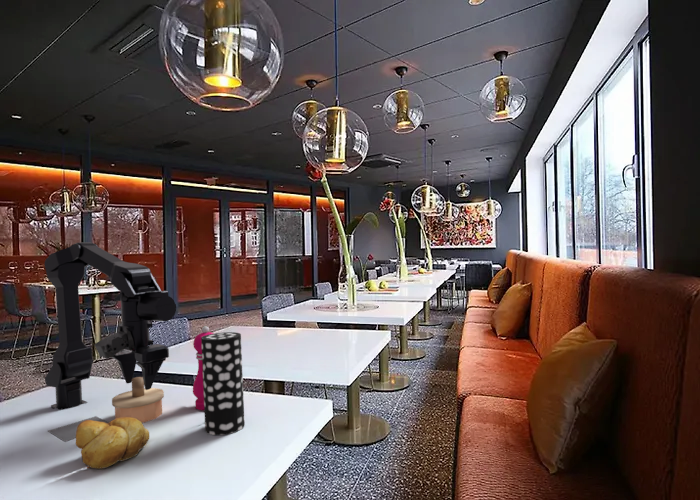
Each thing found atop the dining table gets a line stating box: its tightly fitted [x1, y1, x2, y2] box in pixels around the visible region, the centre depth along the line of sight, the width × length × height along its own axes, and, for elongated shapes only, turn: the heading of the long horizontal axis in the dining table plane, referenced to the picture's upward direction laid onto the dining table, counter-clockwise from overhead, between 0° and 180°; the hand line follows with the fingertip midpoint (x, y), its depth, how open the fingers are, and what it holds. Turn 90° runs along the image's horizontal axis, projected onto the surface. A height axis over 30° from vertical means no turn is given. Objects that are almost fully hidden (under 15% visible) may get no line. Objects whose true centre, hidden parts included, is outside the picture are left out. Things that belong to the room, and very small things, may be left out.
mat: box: [47, 415, 110, 443], centre depth 99 cm, size 10×10×1 cm
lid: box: [111, 376, 165, 408], centre depth 105 cm, size 11×11×5 cm
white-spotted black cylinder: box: [201, 331, 246, 436], centre depth 98 cm, size 8×8×20 cm
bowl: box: [114, 398, 163, 424], centre depth 105 cm, size 10×10×4 cm
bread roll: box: [75, 417, 150, 469], centre depth 86 cm, size 13×10×8 cm
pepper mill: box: [192, 325, 215, 411], centre depth 112 cm, size 7×7×20 cm
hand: (138, 386), depth 105 cm, fingers open, 9 cm apart
